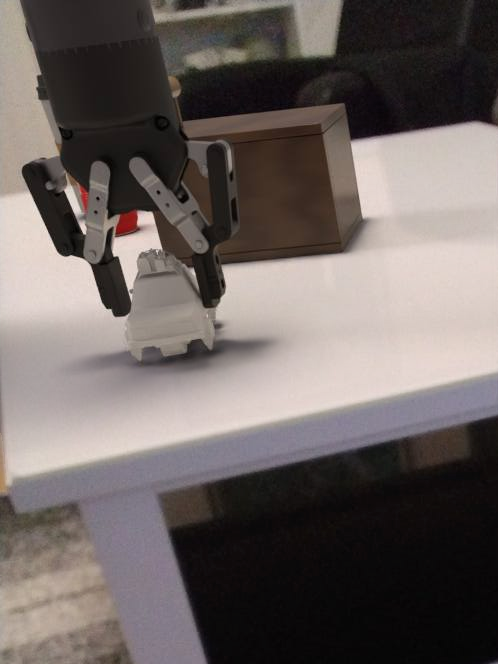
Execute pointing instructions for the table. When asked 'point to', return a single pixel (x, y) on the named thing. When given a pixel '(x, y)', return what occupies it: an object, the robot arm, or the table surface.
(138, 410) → the table surface
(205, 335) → the toy car
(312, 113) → the lid
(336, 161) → the chest
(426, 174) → the table surface
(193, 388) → the table surface
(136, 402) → the table surface
